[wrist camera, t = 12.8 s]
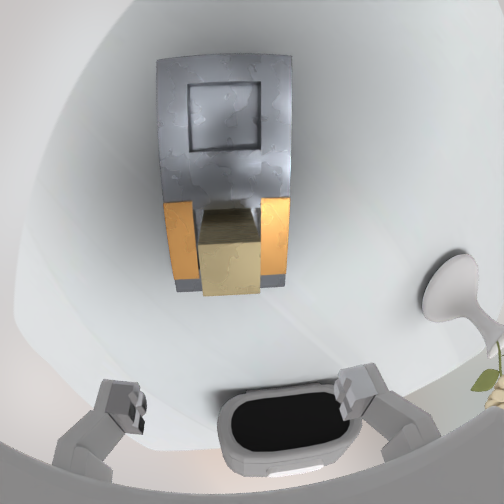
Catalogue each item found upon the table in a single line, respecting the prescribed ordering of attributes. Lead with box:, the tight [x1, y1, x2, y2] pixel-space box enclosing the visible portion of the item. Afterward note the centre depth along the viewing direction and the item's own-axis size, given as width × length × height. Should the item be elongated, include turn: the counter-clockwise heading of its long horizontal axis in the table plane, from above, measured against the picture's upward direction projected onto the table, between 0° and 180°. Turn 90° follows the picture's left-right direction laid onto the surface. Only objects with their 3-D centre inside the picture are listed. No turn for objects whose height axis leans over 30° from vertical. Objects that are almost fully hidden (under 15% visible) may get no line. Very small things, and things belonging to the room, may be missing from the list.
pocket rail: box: [156, 54, 292, 292], centre depth 22 cm, size 20×10×3 cm, turn 0°
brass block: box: [198, 208, 261, 296], centre depth 21 cm, size 4×4×7 cm
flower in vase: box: [422, 254, 504, 410], centre depth 22 cm, size 13×11×25 cm
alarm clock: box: [217, 382, 362, 477], centre depth 34 cm, size 21×10×13 cm, turn 89°
